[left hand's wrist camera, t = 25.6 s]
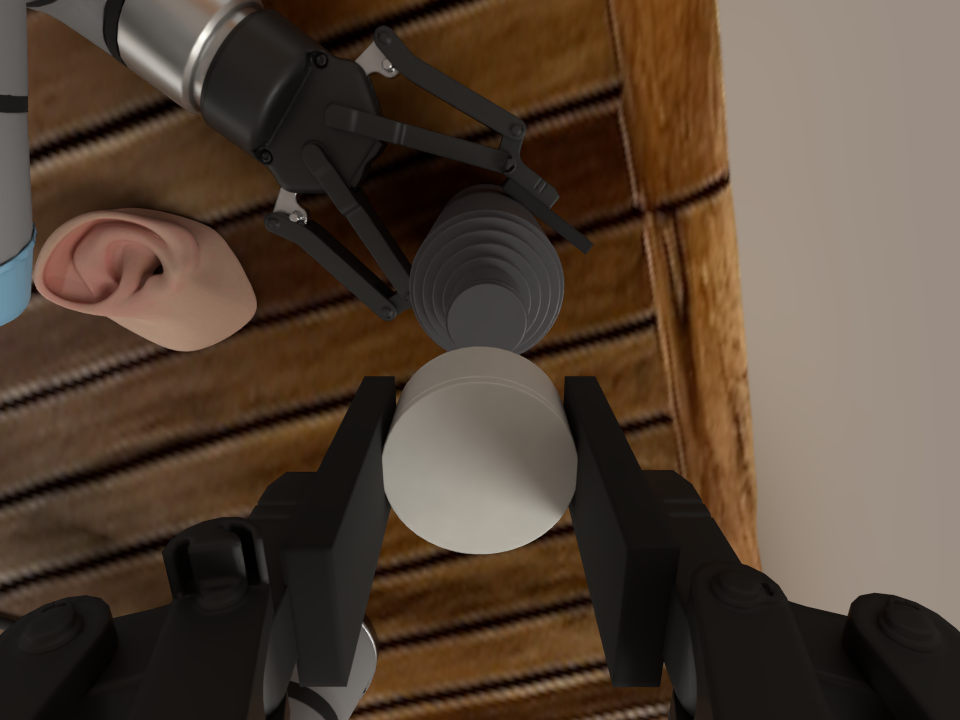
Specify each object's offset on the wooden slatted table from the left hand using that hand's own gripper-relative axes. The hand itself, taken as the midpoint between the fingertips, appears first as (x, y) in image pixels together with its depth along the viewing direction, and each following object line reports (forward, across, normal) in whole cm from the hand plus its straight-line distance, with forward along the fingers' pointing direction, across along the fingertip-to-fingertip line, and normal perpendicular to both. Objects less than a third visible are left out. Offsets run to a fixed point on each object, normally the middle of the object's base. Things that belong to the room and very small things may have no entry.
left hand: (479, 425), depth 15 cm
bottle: (+30, 0, 0) cm, 30 cm away
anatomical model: (+30, +24, +3) cm, 38 cm away
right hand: (+23, -4, +2) cm, 24 cm away
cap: (-2, 0, 0) cm, 2 cm away
